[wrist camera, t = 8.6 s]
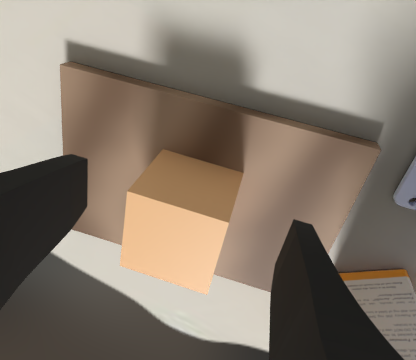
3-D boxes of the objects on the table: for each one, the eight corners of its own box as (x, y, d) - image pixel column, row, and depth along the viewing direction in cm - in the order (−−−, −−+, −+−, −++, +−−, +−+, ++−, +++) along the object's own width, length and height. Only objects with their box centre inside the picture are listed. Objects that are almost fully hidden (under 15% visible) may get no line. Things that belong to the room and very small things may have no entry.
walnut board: (377, 142, 18) (381, 150, 17) (302, 291, 24) (303, 302, 24) (70, 61, 20) (60, 64, 19) (73, 219, 26) (65, 227, 25)
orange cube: (243, 172, 20) (228, 222, 16) (224, 236, 22) (207, 294, 18) (162, 148, 20) (127, 191, 16) (153, 214, 23) (120, 265, 19)
